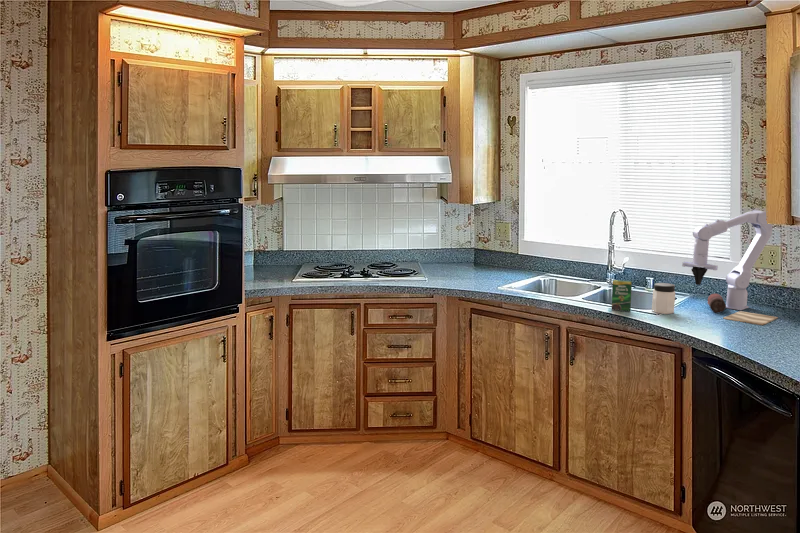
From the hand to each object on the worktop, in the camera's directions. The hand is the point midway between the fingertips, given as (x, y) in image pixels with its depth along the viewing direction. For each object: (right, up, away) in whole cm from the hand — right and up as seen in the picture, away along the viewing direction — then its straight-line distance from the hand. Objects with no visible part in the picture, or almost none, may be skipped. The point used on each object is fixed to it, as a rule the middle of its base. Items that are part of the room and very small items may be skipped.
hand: (698, 284), depth 294 cm
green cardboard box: (-36, -11, -5) cm, 38 cm away
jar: (-19, -12, -8) cm, 23 cm away
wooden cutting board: (+14, -14, -18) cm, 26 cm away
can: (+4, -9, -9) cm, 14 cm away
